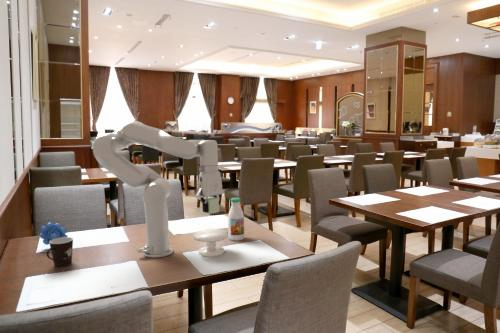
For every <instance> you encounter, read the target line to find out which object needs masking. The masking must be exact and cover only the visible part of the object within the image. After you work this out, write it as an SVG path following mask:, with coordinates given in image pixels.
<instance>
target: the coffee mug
mask: <svg viewBox="0 0 500 333" xmlns="http://www.w3.org/2000/svg"><path fill="white" fill-rule="evenodd" d="M49 243H50V244H49V247H50V248H48V250H47V251H46V256H47V258H48V259H49V260H52V261H53V266H54V268H55V267H56V268H65V267H68V266H70V265H72V264H73V262H72V261H73V244H74V239H73V237H69V236H68V237H63V238H57V239H53V240H51V241H50V242H49ZM50 252H51V257H50V255H49V253H50Z"/></svg>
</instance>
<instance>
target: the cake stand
mask: <svg viewBox="0 0 500 333" xmlns="http://www.w3.org/2000/svg"><path fill="white" fill-rule="evenodd" d="M193 238H194V240H195V241H198V242H202V243H203V242H204V243H206V246H203V247H201V248H199V249H198V255H199V256H202V257H205V258H214V257H219V256H221V255H224V253H225V248H224V247H222V246H218V245H217V242H220V241H225V240H226V239H229V236H228V230H225V229H219V228H210V229H209V228H207V229H202V230H198V231H196V232H194V233H193Z"/></svg>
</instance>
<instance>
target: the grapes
mask: <svg viewBox="0 0 500 333" xmlns="http://www.w3.org/2000/svg"><path fill="white" fill-rule="evenodd" d="M40 231H41V232H40V233H39V235H38V236H39V238H40V239H43V240H42V243H43V244H44V245H46V246H48V245H50V243H49V242H50V241H51V240H53V239H57V238H63V237H69V236H68V235H67V232H68V231H67V229H66V228H65V227H62V225H61V224H60V223H52V222H48V223H46V226H45V225H43V226H41V227H40Z"/></svg>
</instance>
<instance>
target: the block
mask: <svg viewBox="0 0 500 333" xmlns="http://www.w3.org/2000/svg"><path fill="white" fill-rule="evenodd" d="M204 199H205V198H204ZM219 202H220V200H219V198H216V197H213V196H209V197H208V201H207V203H208V210H209V212H208V213H207V212H204V213H205V214H210V215H212V214H215V213H219V212H220V203H219ZM201 208H203V206H202V207H201Z"/></svg>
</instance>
